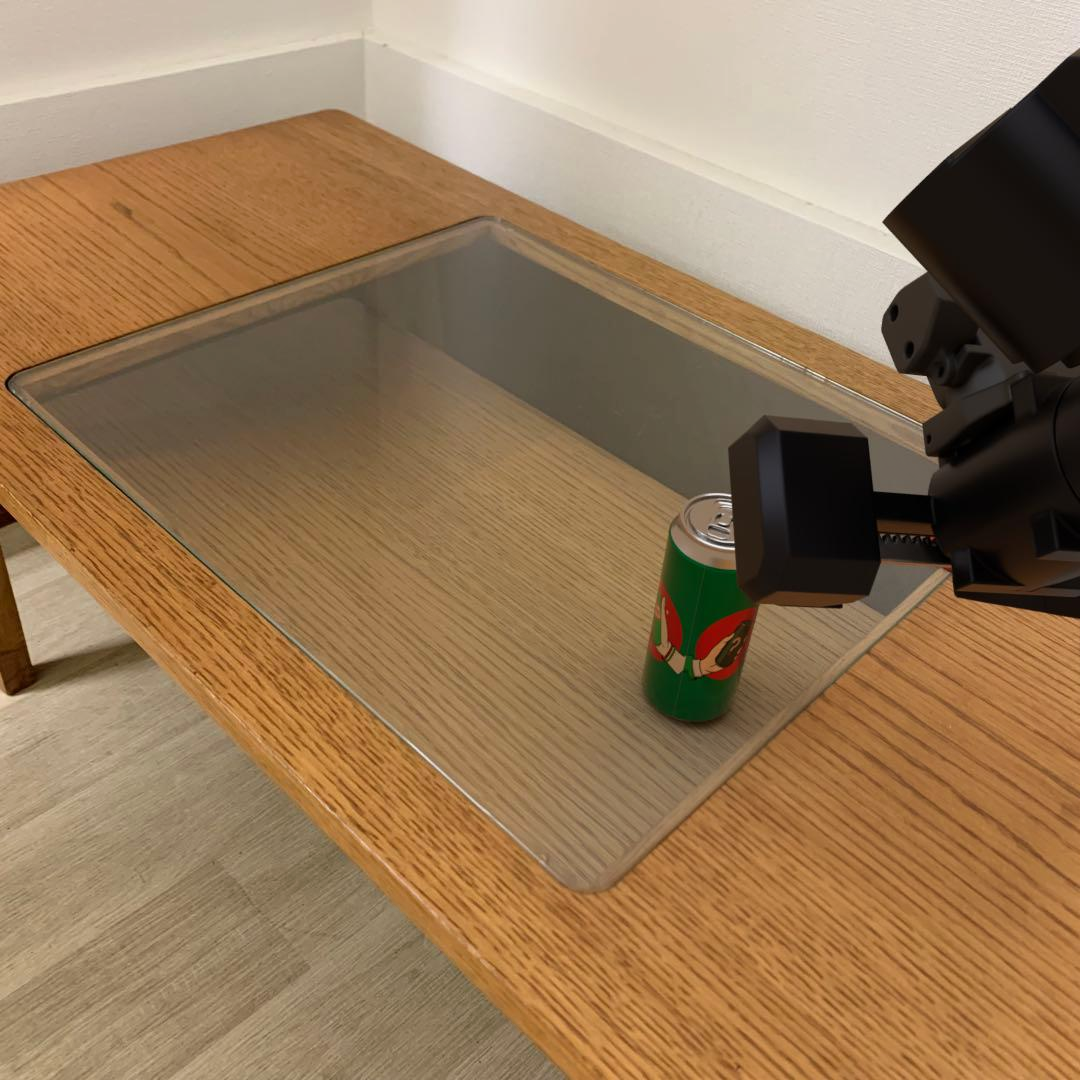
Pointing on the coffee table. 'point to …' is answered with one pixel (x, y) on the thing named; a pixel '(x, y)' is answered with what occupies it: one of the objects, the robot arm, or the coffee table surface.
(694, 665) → the soda can
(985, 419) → the robot arm
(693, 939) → the coffee table surface
